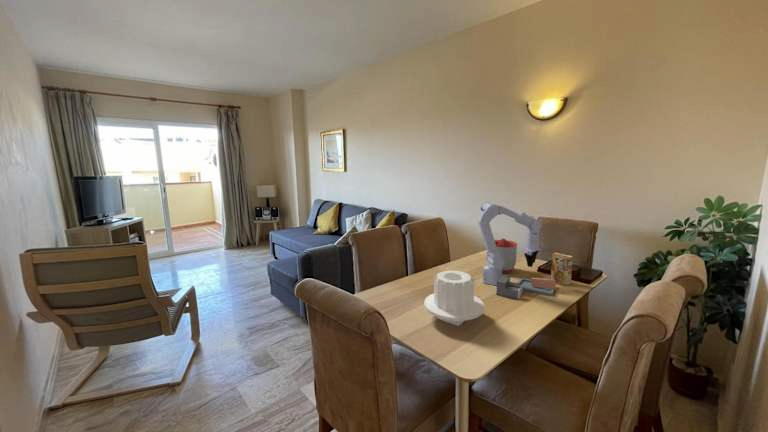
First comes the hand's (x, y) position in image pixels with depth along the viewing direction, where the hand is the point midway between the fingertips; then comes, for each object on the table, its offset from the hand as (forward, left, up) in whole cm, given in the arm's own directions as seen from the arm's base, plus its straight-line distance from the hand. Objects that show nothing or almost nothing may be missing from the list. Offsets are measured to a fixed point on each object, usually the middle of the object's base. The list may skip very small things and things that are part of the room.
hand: (531, 264), depth 170 cm
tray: (+4, -9, -9) cm, 14 cm away
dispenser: (-6, -22, -9) cm, 25 cm away
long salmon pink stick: (+8, -9, -8) cm, 14 cm away
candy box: (+14, +6, -10) cm, 18 cm away
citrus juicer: (-18, +9, -10) cm, 22 cm away
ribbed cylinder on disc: (-20, -59, -10) cm, 64 cm away
